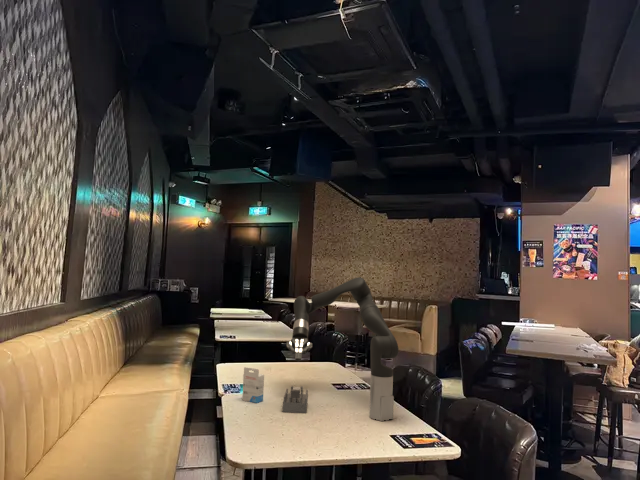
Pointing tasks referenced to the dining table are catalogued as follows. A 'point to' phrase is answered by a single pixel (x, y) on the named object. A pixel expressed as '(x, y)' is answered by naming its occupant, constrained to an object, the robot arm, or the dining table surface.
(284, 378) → the dining table surface
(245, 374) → the ink box
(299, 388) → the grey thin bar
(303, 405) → the heat sink
